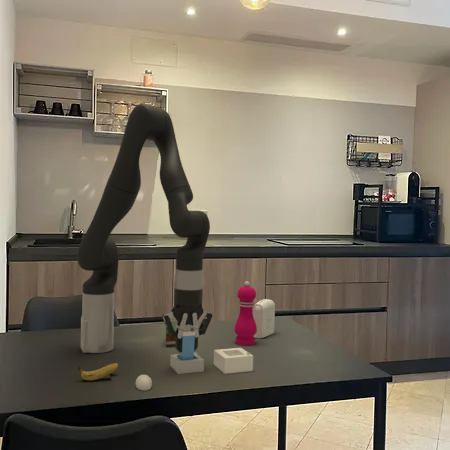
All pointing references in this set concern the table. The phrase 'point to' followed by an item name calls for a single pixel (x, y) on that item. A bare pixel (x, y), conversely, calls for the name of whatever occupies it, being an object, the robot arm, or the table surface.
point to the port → (233, 360)
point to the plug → (187, 345)
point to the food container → (169, 339)
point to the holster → (187, 364)
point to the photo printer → (264, 317)
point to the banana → (98, 372)
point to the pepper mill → (246, 316)
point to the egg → (143, 382)
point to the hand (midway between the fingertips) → (186, 350)
